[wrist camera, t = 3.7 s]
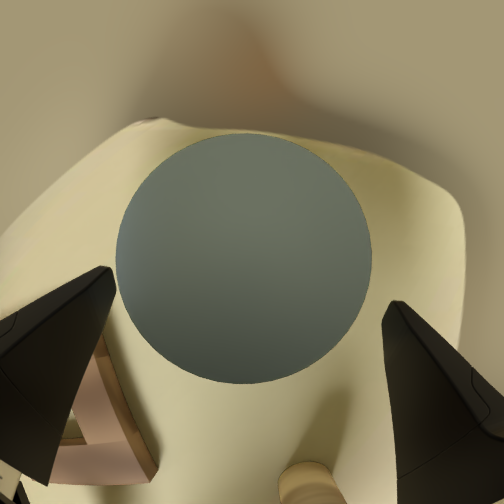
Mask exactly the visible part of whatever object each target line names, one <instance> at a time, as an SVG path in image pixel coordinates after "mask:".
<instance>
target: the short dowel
mask: <svg viewBox="0 0 504 504" xmlns="http://www.w3.org/2000/svg"><path fill="white" fill-rule="evenodd" d="M278 489H279V496H280V502H281V504H347V503H346V501H345V499H344V497H343V496H342V494H341V492H340V490H339V488H338V486H337V485H336V483H335V481H334V479H333V477H332V475H331V474H330V472H329V470H328V469H327V467H325V466H324V465H322V464H320V463H317V462H301V463H297V464H295V465H293V466H291V467H289V468H288V469H286V470H285V471H284V472H283V473H282V474H281V476H280V478H279V480H278Z"/></svg>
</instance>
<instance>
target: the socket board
mask: <svg viewBox="0 0 504 504" xmlns="http://www.w3.org/2000/svg"><path fill="white" fill-rule="evenodd" d="M72 410H73V413H74V415H75V418H76V420H77V422H78V425H79V427H80V429H81V432H82V434H83V436H84V438H72V439H61V441H60V445H59V448H58V451H57V455H56V458H55V462H54V465H53V469H52V473H51V476H50V480H49V483H57V484H71V485H127V484H142V483H150V482H151V480H152V479H153V477H154V476H155V474H156V473H157V471H158V468H157V466H156V464H155V462H154V460H153V459H152V457H151V455H150V453H149V451H148V449H147V447H146V445H145V443H144V441H143V439H142V436H141V434H140V432H139V430H138V428H137V426H136V423H135V421H134V419H133V417H132V414H131V412H130V410H129V407H128V405H127V402H126V400H125V397H124V395H123V392H122V390H121V387H120V384H119V382H118V379H117V376H116V374H115V371H114V368H113V365H112V362H111V359H110V356H109V353H108V350H107V347H106V344H105V340H104V337H103V334H101V336H100V339H99V341H98V343H97V345H96V348H95V350H94V352H93V355H92V357H91V359H90V362H89V364H88V367H87V369H86V371H85V374H84V376H83V379H82V381H81V384H80V387H79V389H78V392H77V394H76V397H75V400H74V403H73V405H72ZM32 481H35V480H33V479H32Z"/></svg>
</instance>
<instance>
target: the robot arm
mask: <svg viewBox="0 0 504 504" xmlns="http://www.w3.org/2000/svg"><path fill="white" fill-rule="evenodd" d="M115 295H116V283H115V279H114V275H113V271H112V269H111V268H110V267H107V266H98V267H96V268H94V269H92V270H90V271H88V272H86V273H85V274H83V275H81V276H79V277H77V278H75V279H73V280H71V281H70V282H68V283H66V284H64V285H62V286H60V287H59V288H57V289H55V290H53V291H51V292H49V293H48V294H46V295H44V296H42V297H41V298H39V299H37V300H35V301H34V302H32V303H30V304H28V305H27V306H25V307H23V308H21V309H20V310H19V311H16V312H15V313H13V314H11V315H10V316H8V317H6V318H4V319H3V320H1V321H0V504H30V502H29V500H28V497H27V495H26V493H25V490H24V487H23V485H22V482H21V481H20V477H21V474H22V473H23V474H24V475H26V476H28V477H30V478H31V479H33V480H35V481H37V482H39V483H41V484H43V485H45V486H48V484H49V480H50V476H51V473H52V469H53V465H54V462H55V458H56V455H57V451H58V448H59V445H60V441H61V438H62V435H63V431H64V428H65V425H66V422H67V419H68V417H69V414H70V411H71V408H72V405H73V403H74V400H75V397H76V394H77V392H78V389H79V387H80V384H81V381H82V379H83V376H84V374H85V371H86V369H87V367H88V364H89V362H90V359H91V357H92V355H93V352H94V350H95V348H96V345H97V343H98V341H99V339H100V336H101V334H102V332H103V329H104V326H105V323H106V320H107V317H108V314H109V312H110V309H111V306H112V303H113V300H114V297H115ZM381 326H382V337H383V350H384V364H385V372H386V378H387V384H388V391H389V398H390V405H391V413H392V422H393V431H394V442H395V454H396V470H397V479H398V480H397V504H504V397H503V396H502V395H501V394H500V393H499V392H498V391H497V390H496V389H495V388H494V387H493V386H491V385H490V384H489V383H488V382H487V381H486V380H485V379H484V378H483V377H482V376H481V375H480V374H479V373H478V372H477V371H476V370H475V369H474V368H473V367H471V365H470V364H469V363H468V362H467V361H466V360H465V359H464V358H463V357H462V356H461V355H460V354H459V353H458V352H457V351H456V350H455V349H454V348H453V347H452V346H451V345H450V344H449V343H448V342H447V341H446V340H445V339H444V338H443V337H442V336H441V335H440V334H439V333H438V332H437V331H436V330H434V329H433V328H432V327H431V326H430V325H429V324H428V323H427V322H426V321H425V320H424V319H423V318H422V317H420V316H419V315H418V314H417V313H416V312H415V311H414V310H413V309H412V308H411V307H409V306H408V305H407V304H406V303H405V302H404V301H397V300H393V301H391V302H390V304H389V306H388V308H387V310H386V312H385V314H384V317H383V319H382V324H381Z"/></svg>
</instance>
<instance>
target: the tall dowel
mask: <svg viewBox="0 0 504 504" xmlns="http://www.w3.org/2000/svg"><path fill="white" fill-rule="evenodd" d="M371 264H372V250H371V242H370V234H369V230H368V227H367V223H366V219H365V217H364V214H363V212H362V209H361V207H360V204H359V203H358V201H357V199H356V197H355V195H354V194H353V192H352V190H351V189H350V188H349V186H348V185H347V184H346V182H345V181H344V180H343V178H342V177H341V176H340V175H339V174H338V173H337V172H336V171H335V170H334V169H333V168H332V167H331V166H330V165H329V164H327V163H326V162H325V161H324V160H322V159H321V158H320V157H318V156H317V155H315V154H314V153H312V152H310V151H309V150H307V149H305V148H303V147H301V146H299V145H297V144H294V143H292V142H289V141H286V140H283V139H280V138H277V137H272V136H267V135H260V134H248V133H247V134H229V135H223V136H217V137H213V138H209V139H206V140H202V141H200V142H197V143H195V144H192V145H190V146H188V147H186V148H184V149H182V150H180V151H179V152H177V153H175V154H174V155H172V156H171V157H169V158H168V159H166V160H165V161H164V162H162V163H161V164H160V165H159V166H158V167H157V168H156V169H155V170H154V171H152V172H151V173H150V175H149V176H148V177H147V178H146V179H145V180H144V182H143V183H142V184H141V185H140V187H139V188H138V190H137V191H136V193H135V194H134V196H133V197H132V199H131V201H130V203H129V205H128V207H127V209H126V211H125V214H124V217H123V220H122V222H121V225H120V229H119V234H118V239H117V246H116V275H117V280H118V285H119V290H120V294H121V297H122V300H123V302H124V305H125V308H126V310H127V312H128V314H129V316H130V318H131V320H132V322H133V323H134V325H135V326H136V328H137V329H138V331H139V332H140V334H141V335H142V336H143V337H144V339H145V340H146V341H147V342H148V343H149V344H150V345H151V346H152V347H153V348H154V349H155V350H156V351H157V352H158V353H159V354H161V355H162V356H163V357H164V358H166V359H167V360H168V361H170V362H171V363H173V364H175V365H176V366H178V367H180V368H181V369H183V370H185V371H187V372H190V373H192V374H194V375H197V376H199V377H202V378H206V379H209V380H213V381H217V382H224V383H232V384H255V383H262V382H268V381H273V380H277V379H280V378H283V377H286V376H289V375H292V374H294V373H296V372H298V371H300V370H302V369H305V368H307V367H308V366H310V365H311V364H313V363H314V362H316V361H317V360H319V359H320V358H322V357H323V356H324V355H325V354H327V353H328V352H329V351H330V350H331V349H332V348H333V347H334V346H336V344H337V343H338V342H339V341H340V340H341V339H342V337H343V336H344V335H345V334H346V333H347V332H348V330H349V328H350V327H351V325H352V324H353V322H354V321H355V319H356V317H357V315H358V313H359V311H360V309H361V307H362V304H363V302H364V299H365V296H366V293H367V289H368V286H369V281H370V274H371Z"/></svg>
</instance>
